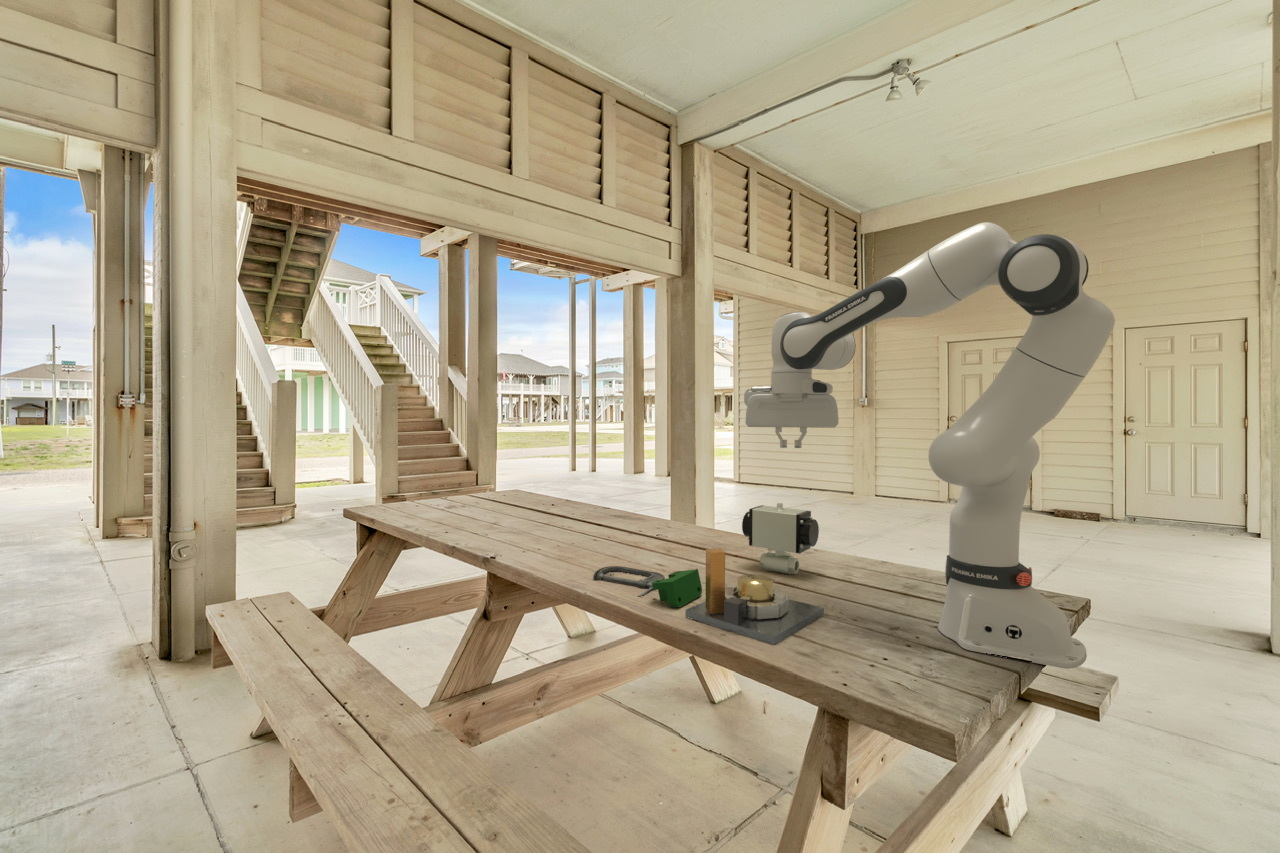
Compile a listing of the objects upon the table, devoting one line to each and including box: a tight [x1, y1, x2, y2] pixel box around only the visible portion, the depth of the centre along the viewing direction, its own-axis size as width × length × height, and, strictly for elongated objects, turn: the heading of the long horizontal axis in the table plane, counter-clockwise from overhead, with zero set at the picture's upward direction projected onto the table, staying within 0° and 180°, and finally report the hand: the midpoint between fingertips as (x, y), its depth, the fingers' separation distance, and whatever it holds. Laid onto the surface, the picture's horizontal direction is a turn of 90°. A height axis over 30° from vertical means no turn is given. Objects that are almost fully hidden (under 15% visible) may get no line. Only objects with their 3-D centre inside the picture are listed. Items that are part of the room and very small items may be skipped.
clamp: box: [652, 568, 703, 608], centre depth 126 cm, size 12×6×9 cm, turn 140°
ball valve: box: [741, 502, 820, 575], centre depth 148 cm, size 18×8×18 cm, turn 52°
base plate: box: [684, 573, 825, 646], centre depth 116 cm, size 20×20×8 cm
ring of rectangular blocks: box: [705, 548, 790, 619], centre depth 116 cm, size 16×12×12 cm
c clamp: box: [593, 565, 666, 598], centre depth 140 cm, size 20×17×3 cm
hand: (790, 447), depth 130 cm, fingers closed
